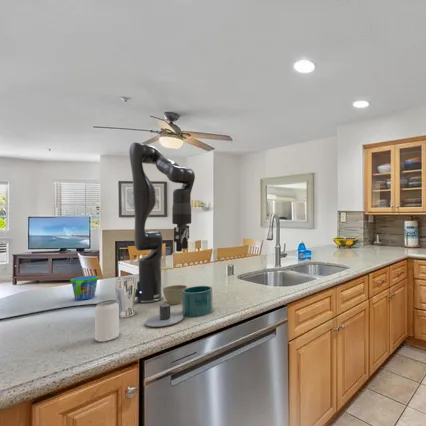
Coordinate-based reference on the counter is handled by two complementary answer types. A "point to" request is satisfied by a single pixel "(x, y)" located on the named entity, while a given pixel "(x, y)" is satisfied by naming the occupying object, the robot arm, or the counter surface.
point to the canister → (197, 301)
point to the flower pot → (174, 293)
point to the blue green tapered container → (84, 287)
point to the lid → (164, 317)
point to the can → (106, 320)
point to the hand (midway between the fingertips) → (182, 250)
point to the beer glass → (126, 296)
